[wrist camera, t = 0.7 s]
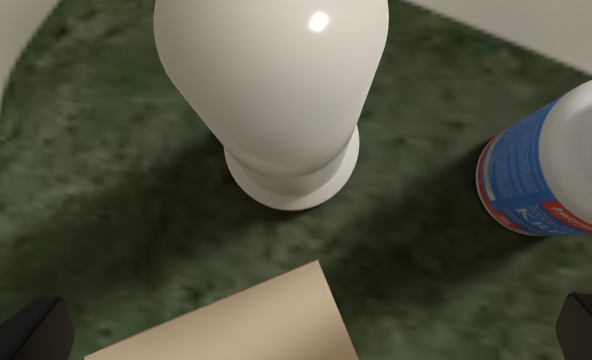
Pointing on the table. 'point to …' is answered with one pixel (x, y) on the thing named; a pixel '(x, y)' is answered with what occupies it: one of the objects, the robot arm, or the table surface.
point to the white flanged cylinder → (277, 86)
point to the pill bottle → (542, 169)
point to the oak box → (250, 326)
